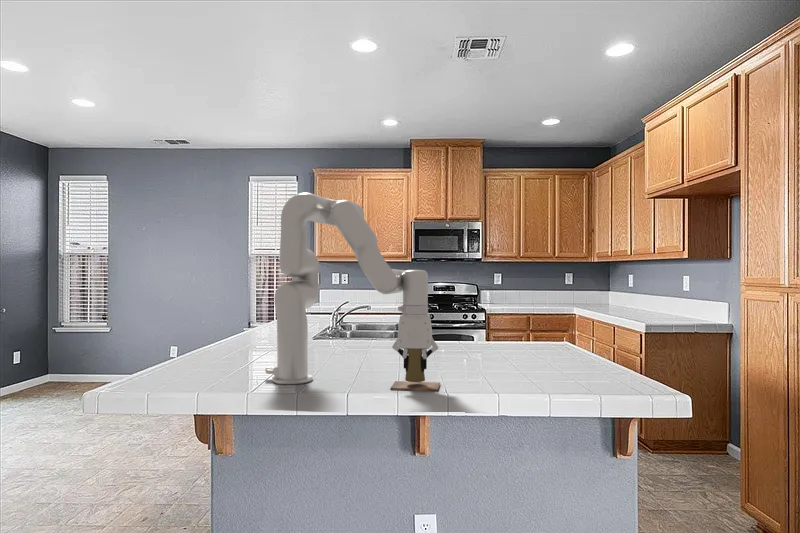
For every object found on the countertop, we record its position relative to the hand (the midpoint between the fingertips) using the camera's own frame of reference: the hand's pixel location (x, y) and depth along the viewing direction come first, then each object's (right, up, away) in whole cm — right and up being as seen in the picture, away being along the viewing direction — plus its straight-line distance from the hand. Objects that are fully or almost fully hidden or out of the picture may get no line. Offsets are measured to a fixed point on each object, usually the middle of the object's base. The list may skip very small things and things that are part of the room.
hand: (415, 370), depth 159 cm
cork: (0, -3, 0) cm, 3 cm away
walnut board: (0, -5, 0) cm, 5 cm away
